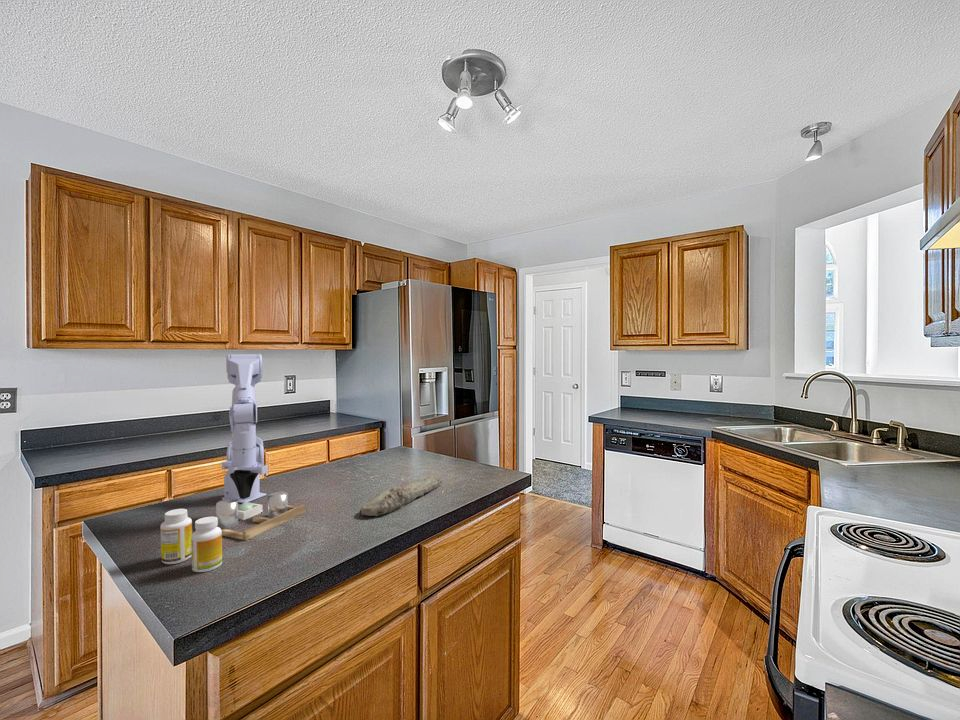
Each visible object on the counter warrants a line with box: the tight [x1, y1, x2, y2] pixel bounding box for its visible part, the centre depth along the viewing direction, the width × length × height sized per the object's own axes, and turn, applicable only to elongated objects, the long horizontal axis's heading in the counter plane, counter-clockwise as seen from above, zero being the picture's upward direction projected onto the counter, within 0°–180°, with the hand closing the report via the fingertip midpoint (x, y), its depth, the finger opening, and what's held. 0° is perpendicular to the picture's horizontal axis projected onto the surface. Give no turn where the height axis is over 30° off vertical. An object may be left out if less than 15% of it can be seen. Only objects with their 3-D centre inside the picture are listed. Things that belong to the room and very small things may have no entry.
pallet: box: [221, 504, 306, 541], centre depth 113 cm, size 8×19×2 cm, turn 159°
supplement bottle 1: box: [159, 508, 193, 565], centre depth 94 cm, size 6×6×10 cm
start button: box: [238, 502, 253, 511], centre depth 119 cm, size 4×4×2 cm
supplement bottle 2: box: [190, 516, 223, 573], centre depth 91 cm, size 5×5×10 cm
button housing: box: [238, 502, 264, 521], centre depth 119 cm, size 6×6×2 cm
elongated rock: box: [360, 475, 443, 517], centre depth 132 cm, size 35×5×10 cm
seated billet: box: [267, 490, 289, 518], centre depth 118 cm, size 5×5×6 cm
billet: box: [215, 499, 239, 530], centre depth 112 cm, size 5×5×6 cm
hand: (244, 497), depth 119 cm, fingers closed
